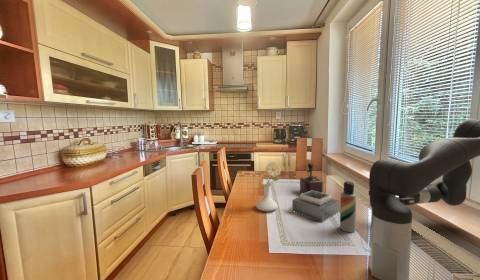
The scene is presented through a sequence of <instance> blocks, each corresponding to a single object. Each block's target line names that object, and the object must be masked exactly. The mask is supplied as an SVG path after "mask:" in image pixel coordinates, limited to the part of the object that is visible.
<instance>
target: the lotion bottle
mask: <svg viewBox="0 0 480 280" xmlns="http://www.w3.org/2000/svg"><path fill="white" fill-rule="evenodd" d="M354 192H355V184H354V182H351V181H347V180H346V181H344V182H343V191H342V192H340V205H339V213H340V215H339V229H340V230H341V229H342V232H345V231H346V232H345V233H354V232H355V231H356V225H357V223H356V222H357V221H356V219H357V194H356V193H354Z"/></svg>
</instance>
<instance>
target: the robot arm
mask: <svg viewBox="0 0 480 280" xmlns="http://www.w3.org/2000/svg"><path fill="white" fill-rule="evenodd" d="M477 157H480V120H479V119H477V118H476V119H475V118H467V119H464V120H463V121H462V122H461V123H460V124H458V126H457V127H456V129H455V130H454V133H453V135H452V137H444V138H441V139H437V140H434V141H433V142H430V143H428V144H427V145H425V146H424V147H423V148H421V150H420V152H419V155H418V161H414V162H403V161H396V160H391V159H378V160H376V161H374V162H373V164H372V165H371V168H370V171H369V178H368V181H369V182H368V184H369V186H368V187H369V190H368V196H369V204H370V207H371V226H370V227H371V233H370V253H369V254H370V256H369V257H370V259H369V269H370V272H371V276H372V277H374V278H376V279H378V280H410V265H411V248H412V247H411V245H412V244H411V243H412V229H413V228H412V227H413V226H412V225H413V213H412V210H411V209H410V208H409V207H408V206H413V205H422V204H426V203H428V204H429V203H437V202H439V201H441V200H442V201H443V202H444V203H445V204H447V205H449V206H453V207H454V206H455V207H456V206H460V205H462V204H463V203H465V200H466V199H467V184H468V182H469V181H470V178H471V177H472V174H473V166H472V164H471V160H473V159H475V158H477ZM441 177H442V178H441ZM439 178H441V179H442V180H439V181H436V180H437V179H439ZM435 181H436V182H435Z"/></svg>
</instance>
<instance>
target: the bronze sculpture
mask: <svg viewBox="0 0 480 280" xmlns="http://www.w3.org/2000/svg"><path fill="white" fill-rule="evenodd" d="M307 167H308V170H307V171H306V173H309V176H306V177H301V178H299V192H300V194H302V193H306V192H308V191H311V190H313V191H317V192H321V193H323V183H324V182H323V181H322V180H320V179H319V178H318V177H317V176H316V175H315V176H313V173H312V172H313V171H314V170H313V168H314V164H313V163H312V162H311V163H308V164H307Z"/></svg>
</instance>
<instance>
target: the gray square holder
mask: <svg viewBox="0 0 480 280" xmlns="http://www.w3.org/2000/svg"><path fill="white" fill-rule="evenodd" d="M291 203H292V205H291V206H292V210H291V211H292V212H293V211H295V212H294V213H296V212H297V213H296V214H298V213H300V214H299V215H301V214H303V215H302V216H304V215H305V216H304V217H307V216H308V217H307V218H309V217H310V218H309V219H312V218H313V219H312V220H315V219H316V220H315V221H317V220H319V221H318V222H320V221H321V222H320V223H323V221H324V222H326V221H327V220H329V219H330V218H332V217H334V216H335V215H337V214H338V212H339V213H340V200H338V199H335V198H332V195H331V194H328V193H325V192H322V193H321V192H317V191H313V190H311V191H308V192H306V193H303V194H302V193H300V194H299V196H298V197H296V198H294V199H292V202H291ZM336 213H337V214H336ZM333 215H334V216H333ZM331 216H332V217H331ZM329 217H330V218H329ZM328 218H329V219H328ZM326 219H327V220H326Z"/></svg>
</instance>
